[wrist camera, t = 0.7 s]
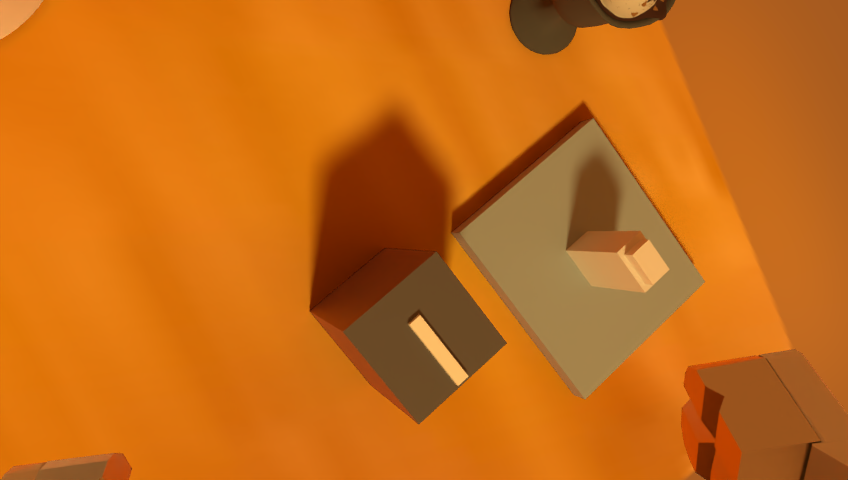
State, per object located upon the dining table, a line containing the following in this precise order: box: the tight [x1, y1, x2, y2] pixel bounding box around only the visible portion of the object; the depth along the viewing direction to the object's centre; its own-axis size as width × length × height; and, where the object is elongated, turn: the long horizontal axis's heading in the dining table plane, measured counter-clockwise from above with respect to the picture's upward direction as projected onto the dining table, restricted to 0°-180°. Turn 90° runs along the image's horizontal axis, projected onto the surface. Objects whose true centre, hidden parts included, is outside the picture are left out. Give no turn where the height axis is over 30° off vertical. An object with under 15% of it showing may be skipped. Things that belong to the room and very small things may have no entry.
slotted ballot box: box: [310, 248, 507, 424], centre depth 41 cm, size 6×6×10 cm
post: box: [452, 118, 705, 399], centre depth 46 cm, size 14×12×8 cm
